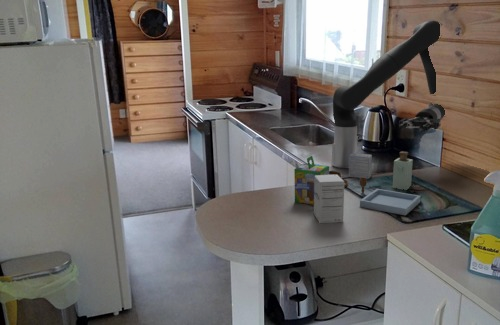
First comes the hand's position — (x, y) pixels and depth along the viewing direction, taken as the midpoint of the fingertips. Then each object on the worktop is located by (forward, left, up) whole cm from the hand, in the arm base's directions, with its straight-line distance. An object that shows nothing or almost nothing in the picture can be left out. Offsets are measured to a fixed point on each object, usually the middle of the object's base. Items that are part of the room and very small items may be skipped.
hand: (412, 128), depth 173 cm
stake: (+1, -11, -20) cm, 22 cm away
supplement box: (-7, -53, -20) cm, 57 cm away
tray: (+4, -31, -20) cm, 37 cm away
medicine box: (-17, -6, -20) cm, 27 cm away
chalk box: (-19, -41, -20) cm, 49 cm away
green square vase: (+1, -11, -20) cm, 22 cm away
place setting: (-19, -24, -20) cm, 37 cm away
